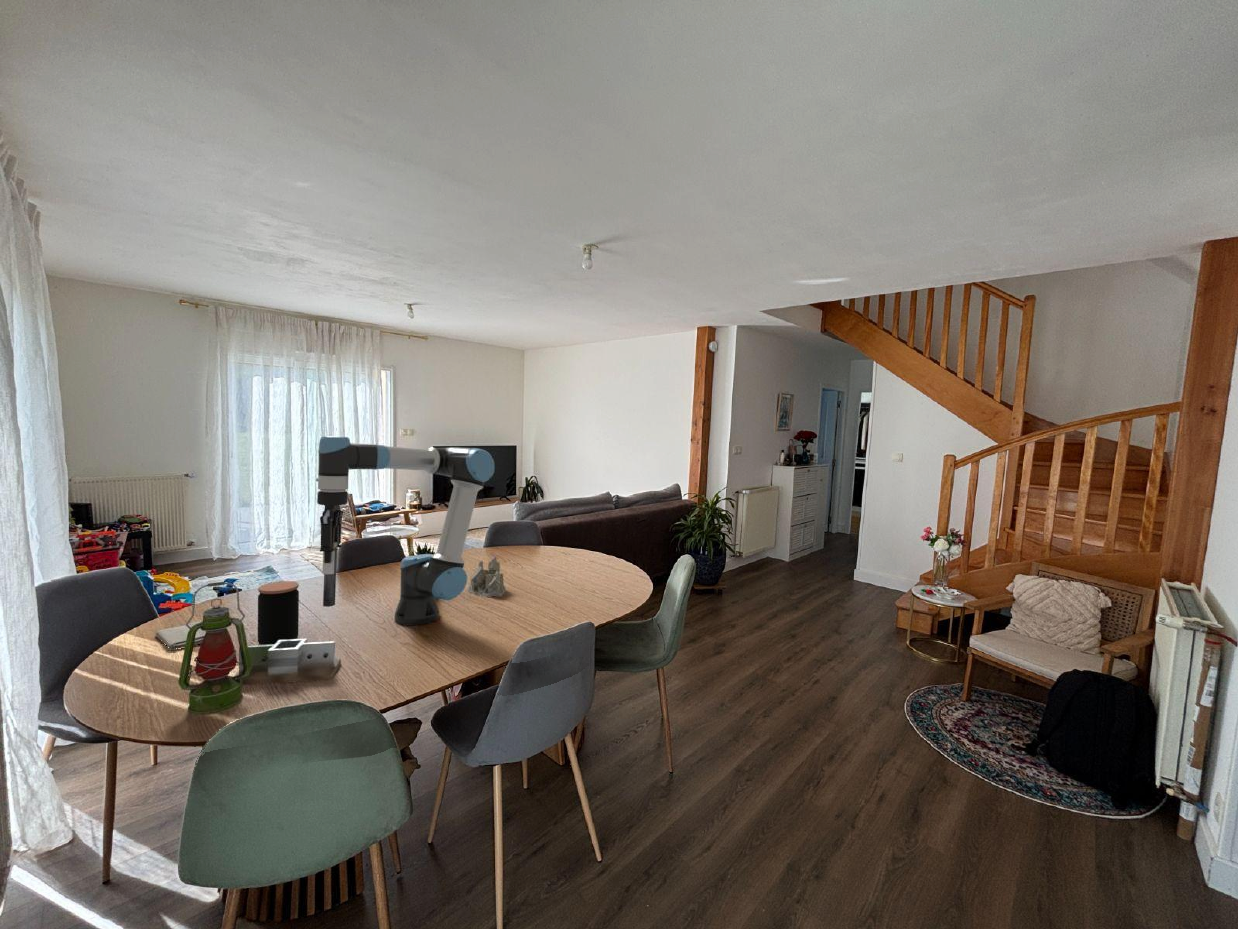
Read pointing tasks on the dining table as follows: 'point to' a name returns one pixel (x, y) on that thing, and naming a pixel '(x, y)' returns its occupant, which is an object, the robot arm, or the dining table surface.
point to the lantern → (214, 661)
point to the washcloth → (179, 636)
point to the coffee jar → (278, 612)
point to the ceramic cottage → (488, 580)
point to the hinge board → (301, 676)
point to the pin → (330, 584)
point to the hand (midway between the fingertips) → (330, 572)
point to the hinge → (290, 656)
